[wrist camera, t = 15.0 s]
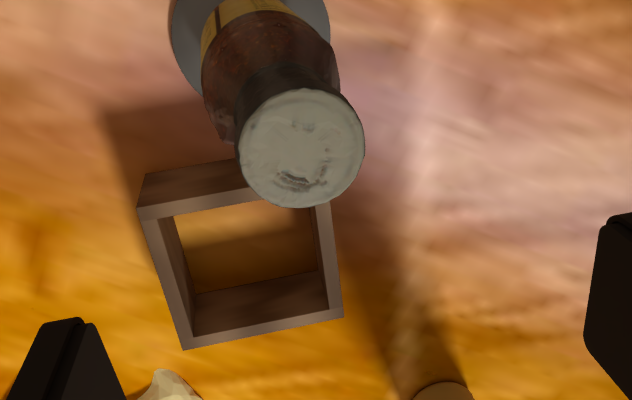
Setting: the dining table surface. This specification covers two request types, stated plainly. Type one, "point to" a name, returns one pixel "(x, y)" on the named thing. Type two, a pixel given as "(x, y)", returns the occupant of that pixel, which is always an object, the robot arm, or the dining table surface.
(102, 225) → the dining table surface
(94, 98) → the dining table surface
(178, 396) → the cloth
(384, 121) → the dining table surface
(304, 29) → the sauce bottle
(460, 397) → the bark textured cylinder
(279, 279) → the holder
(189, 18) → the coaster
